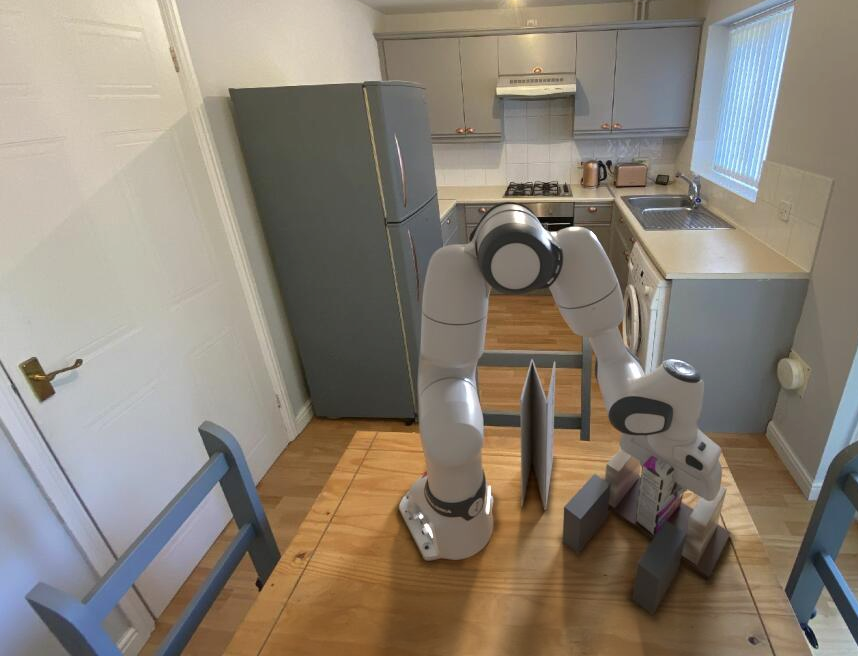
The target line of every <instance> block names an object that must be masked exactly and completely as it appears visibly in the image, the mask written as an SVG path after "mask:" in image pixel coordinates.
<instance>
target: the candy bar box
mask: <svg viewBox="0 0 858 656" xmlns="http://www.w3.org/2000/svg"><path fill="white" fill-rule="evenodd" d="M673 472H674V468H673V467H672V466H670V465H668V464H667V463H665V462H663V461H661V460H660V459H658V458H656V457H654V456H651V457H650V458H649V459H648V460H647V461H646V462H645V463H644V464H643V465H642V467H641V473H640V477H641V481H640V491H639V498H638V507H637V515H636V521H637V522H638V523H639V524H641V525H642V526H643V527H645V528H646V529H647V530H648V531H649V532H651V533H652V534H653V535H656V534H657V532H658V531H659V530H660V528H661V527H662V525H663V523H664V522H665V520H666V521H667V520H668V519H669V518H670V517H671V516H672V514H673V513H674V512H675V511H676V510H677V508H678V507H679V506H680V505H681V502H682V501H683V497H684V493H683V494H682V496H681V497H680V499H679V498H677V497H676V496H674V495H673V489H674V487H676V485H677V484H678V483H677V482H675V481H673V480H672V478H673ZM678 485H680V484H678ZM682 503H683V502H682Z"/></svg>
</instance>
